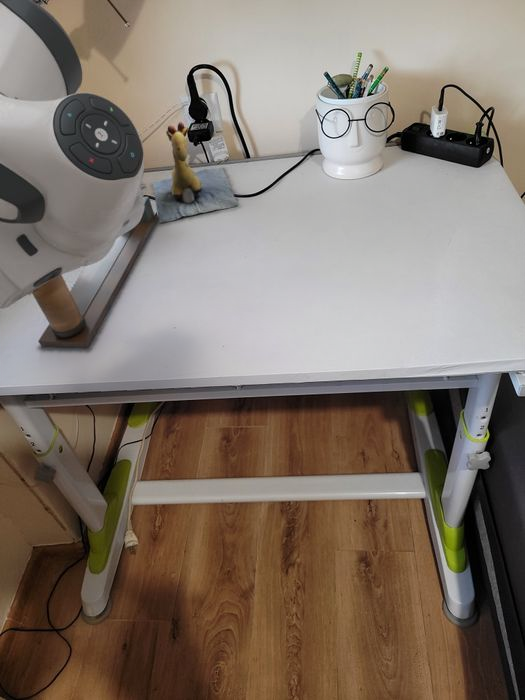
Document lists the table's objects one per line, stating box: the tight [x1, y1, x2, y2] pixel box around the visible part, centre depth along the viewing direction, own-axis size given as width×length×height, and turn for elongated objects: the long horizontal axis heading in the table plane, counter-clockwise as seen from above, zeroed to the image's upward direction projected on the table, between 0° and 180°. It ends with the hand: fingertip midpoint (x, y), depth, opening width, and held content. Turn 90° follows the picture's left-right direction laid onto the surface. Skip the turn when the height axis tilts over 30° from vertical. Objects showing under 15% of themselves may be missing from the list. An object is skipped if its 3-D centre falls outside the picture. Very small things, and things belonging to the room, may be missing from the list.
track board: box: [37, 211, 159, 349], centre depth 91 cm, size 37×8×1 cm, turn 171°
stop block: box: [140, 196, 154, 222], centre depth 100 cm, size 3×7×5 cm, turn 81°
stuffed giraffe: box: [152, 121, 239, 223], centre depth 103 cm, size 16×18×16 cm
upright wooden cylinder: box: [31, 274, 86, 338], centre depth 74 cm, size 5×5×15 cm
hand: (61, 267), depth 65 cm, fingers open, 8 cm apart
